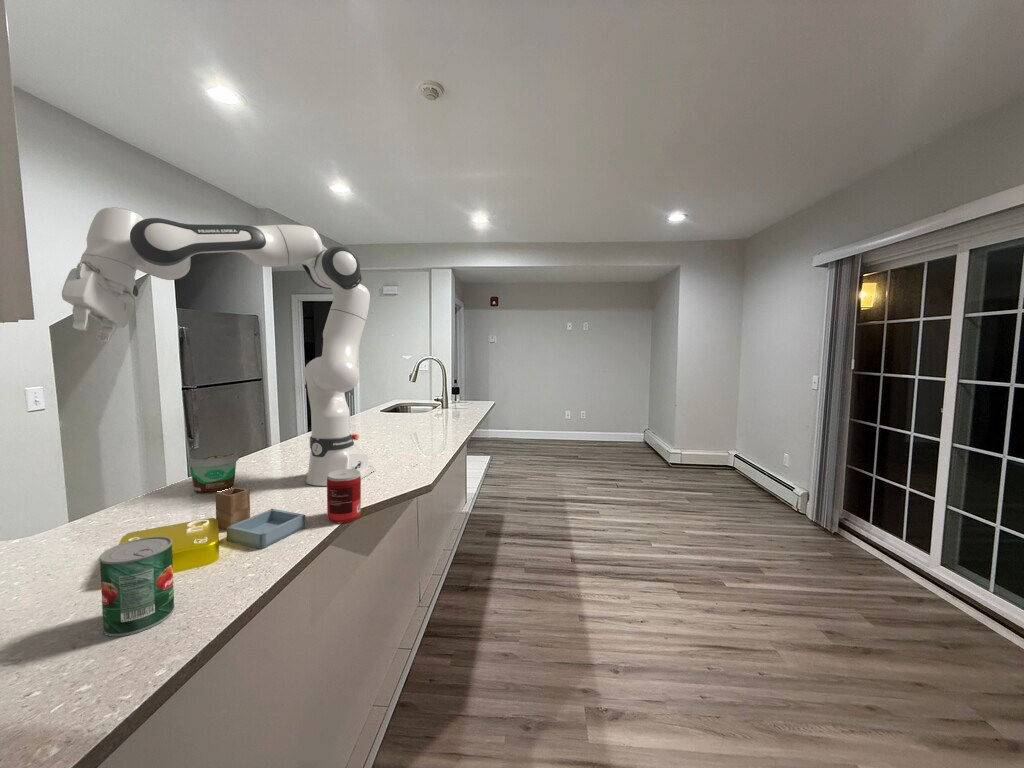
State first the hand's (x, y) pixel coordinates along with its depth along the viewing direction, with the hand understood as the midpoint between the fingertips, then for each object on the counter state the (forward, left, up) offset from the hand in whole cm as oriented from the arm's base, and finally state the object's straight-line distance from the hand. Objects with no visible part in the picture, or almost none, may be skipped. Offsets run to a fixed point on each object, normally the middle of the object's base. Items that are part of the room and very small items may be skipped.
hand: (91, 335), depth 87 cm
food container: (-26, +1, -43) cm, 50 cm away
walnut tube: (-11, +27, -43) cm, 52 cm away
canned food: (-24, +47, -43) cm, 68 cm away
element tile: (+4, +29, -44) cm, 53 cm away
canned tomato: (+17, +45, -43) cm, 65 cm away
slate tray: (-10, +38, -43) cm, 58 cm away
